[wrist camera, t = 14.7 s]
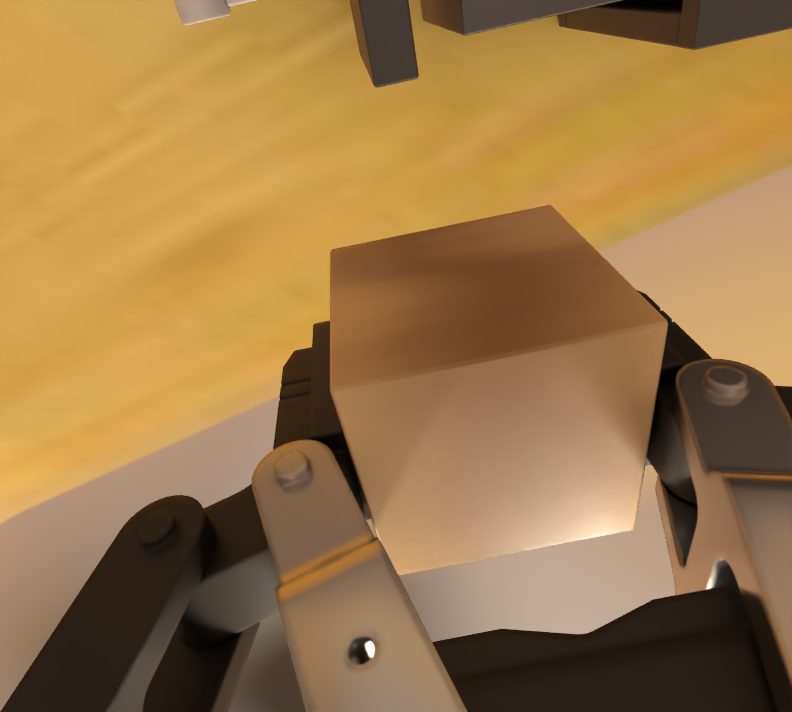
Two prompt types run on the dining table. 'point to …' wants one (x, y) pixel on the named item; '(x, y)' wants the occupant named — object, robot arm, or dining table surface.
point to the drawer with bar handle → (409, 25)
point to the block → (492, 387)
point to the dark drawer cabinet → (683, 20)
